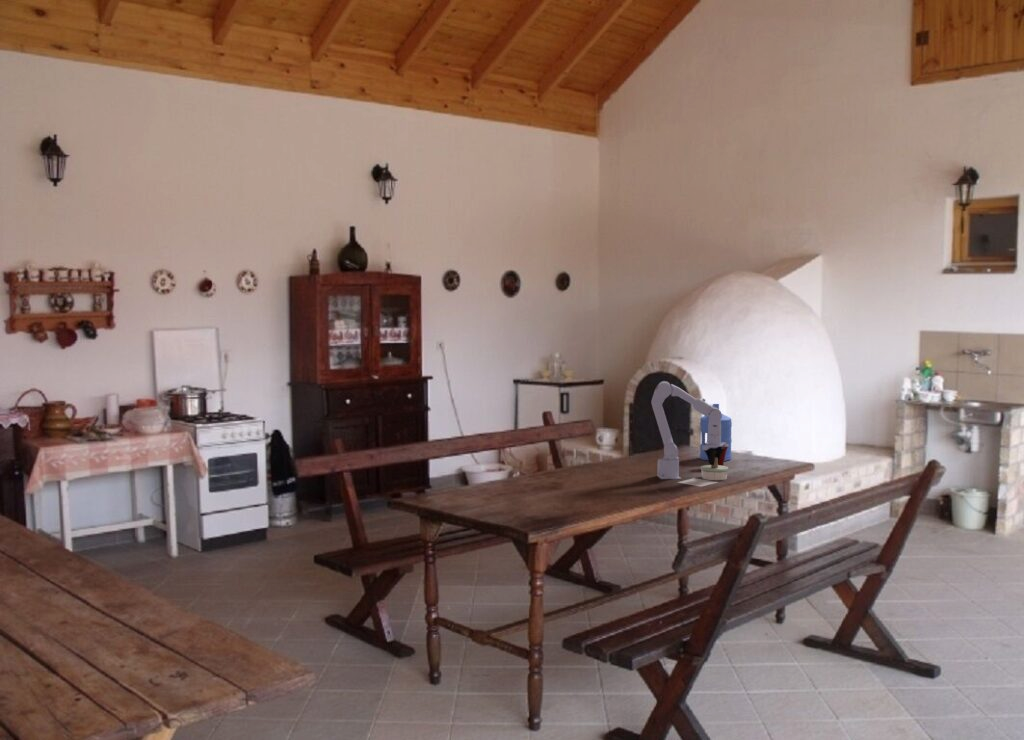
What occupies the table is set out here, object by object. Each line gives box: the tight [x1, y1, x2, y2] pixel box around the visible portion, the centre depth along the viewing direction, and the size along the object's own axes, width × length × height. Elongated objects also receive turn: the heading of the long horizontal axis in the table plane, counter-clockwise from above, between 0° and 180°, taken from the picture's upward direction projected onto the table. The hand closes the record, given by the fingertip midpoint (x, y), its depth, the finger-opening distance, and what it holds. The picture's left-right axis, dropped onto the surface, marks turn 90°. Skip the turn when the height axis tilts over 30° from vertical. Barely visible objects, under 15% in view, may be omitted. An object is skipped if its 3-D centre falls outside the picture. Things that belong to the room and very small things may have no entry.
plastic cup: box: [705, 441, 729, 466], centre depth 445 cm, size 11×11×12 cm
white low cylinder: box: [700, 469, 728, 481], centre depth 419 cm, size 11×11×4 cm
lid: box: [700, 457, 729, 472], centre depth 419 cm, size 12×12×6 cm
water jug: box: [699, 403, 733, 462], centre depth 468 cm, size 16×16×28 cm
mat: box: [676, 477, 719, 488], centre depth 410 cm, size 13×13×1 cm
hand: (714, 464), depth 419 cm, fingers open, 3 cm apart
